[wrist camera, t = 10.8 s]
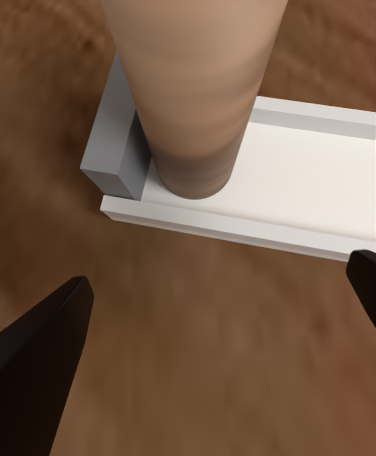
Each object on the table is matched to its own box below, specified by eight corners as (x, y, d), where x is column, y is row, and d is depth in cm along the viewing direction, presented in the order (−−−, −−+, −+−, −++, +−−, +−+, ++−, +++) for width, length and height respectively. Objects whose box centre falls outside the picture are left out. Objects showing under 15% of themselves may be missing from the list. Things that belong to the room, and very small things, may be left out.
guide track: (445, 147, 19) (558, 85, 13) (451, 280, 16) (591, 278, 11) (143, 104, 20) (122, 30, 14) (112, 219, 18) (73, 188, 12)
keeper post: (215, 211, 17) (258, 49, 5) (143, 182, 18) (43, -21, 6) (244, 145, 18) (333, -110, 6) (176, 120, 19) (144, -154, 7)
